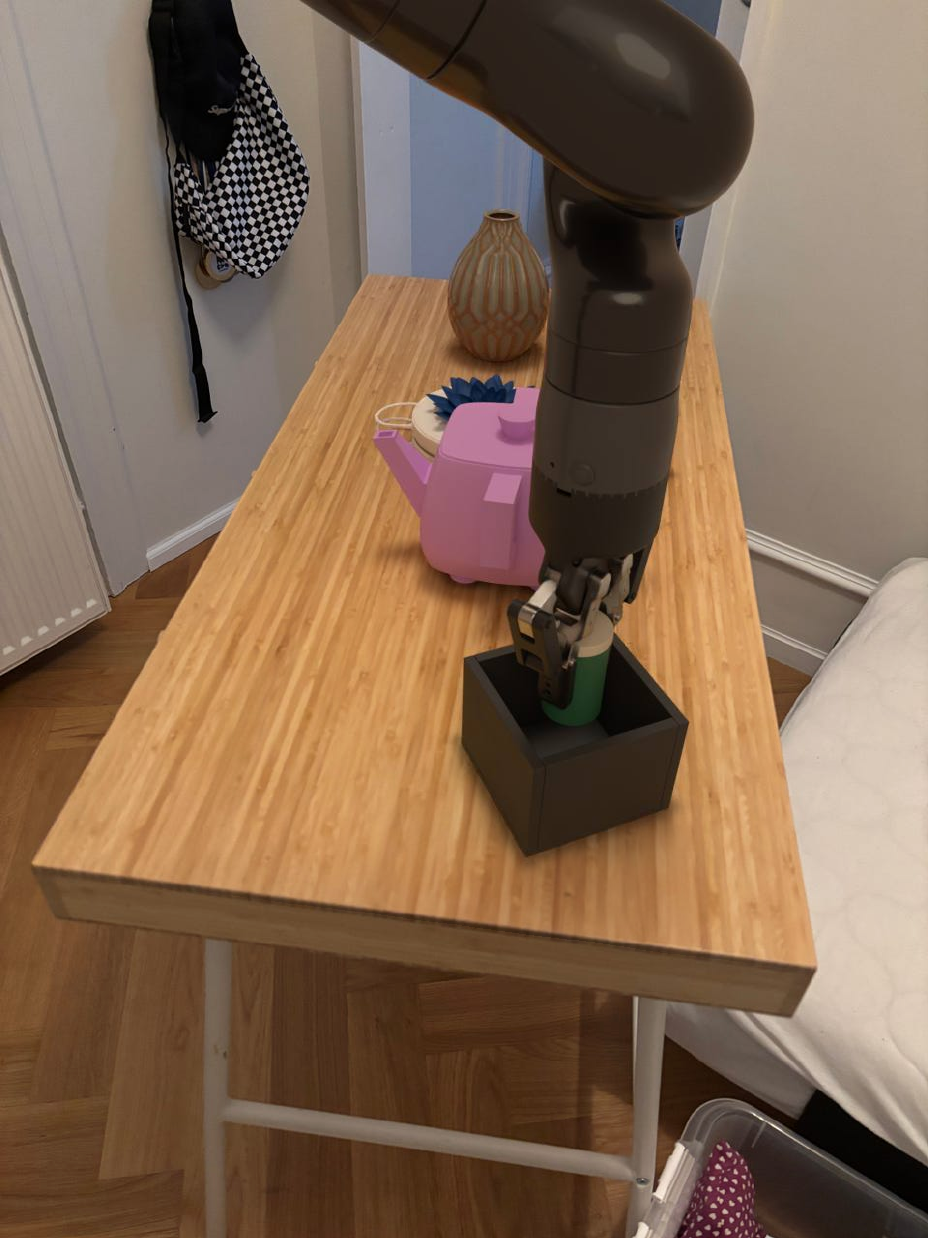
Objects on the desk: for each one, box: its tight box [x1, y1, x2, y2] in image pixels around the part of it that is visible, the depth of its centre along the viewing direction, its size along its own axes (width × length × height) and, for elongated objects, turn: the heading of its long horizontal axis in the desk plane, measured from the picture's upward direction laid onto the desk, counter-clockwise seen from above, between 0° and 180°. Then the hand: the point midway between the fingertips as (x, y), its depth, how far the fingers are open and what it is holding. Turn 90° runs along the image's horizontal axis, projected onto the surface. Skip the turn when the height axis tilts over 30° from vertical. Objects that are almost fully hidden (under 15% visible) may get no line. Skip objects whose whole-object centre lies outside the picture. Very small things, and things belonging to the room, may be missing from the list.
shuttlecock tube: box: [541, 608, 615, 726], centre depth 61 cm, size 4×4×7 cm
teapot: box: [372, 386, 545, 592], centre depth 84 cm, size 19×18×15 cm
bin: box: [460, 631, 690, 858], centre depth 65 cm, size 11×11×9 cm
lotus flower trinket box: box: [374, 373, 536, 464], centre depth 102 cm, size 7×16×20 cm
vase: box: [446, 208, 550, 363], centre depth 119 cm, size 13×13×18 cm
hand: (573, 681), depth 62 cm, fingers closed on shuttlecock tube, 4 cm apart
